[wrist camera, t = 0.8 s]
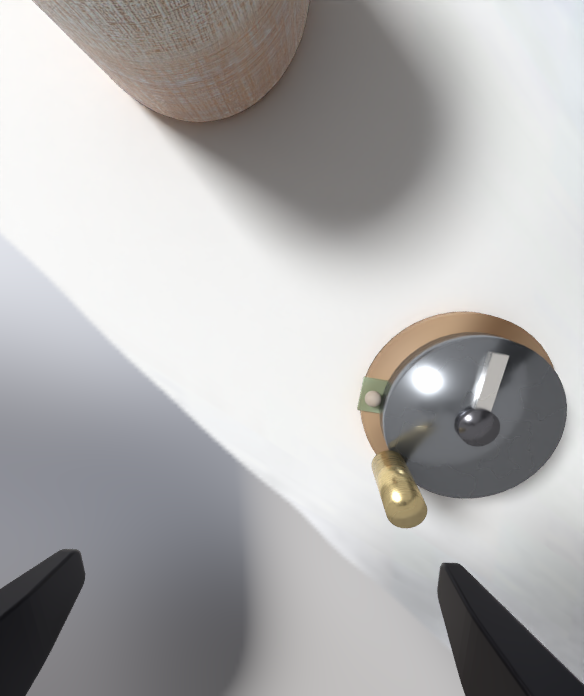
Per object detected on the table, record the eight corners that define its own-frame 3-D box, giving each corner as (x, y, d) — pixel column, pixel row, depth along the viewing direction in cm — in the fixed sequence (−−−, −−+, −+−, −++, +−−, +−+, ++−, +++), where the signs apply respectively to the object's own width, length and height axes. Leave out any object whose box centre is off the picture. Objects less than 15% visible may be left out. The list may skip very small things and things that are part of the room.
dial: (572, 346, 17) (671, 377, 13) (516, 493, 20) (583, 566, 15) (397, 319, 17) (430, 339, 13) (362, 468, 20) (380, 533, 15)
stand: (575, 327, 18) (605, 334, 17) (513, 493, 21) (533, 515, 19) (377, 297, 18) (385, 301, 17) (342, 466, 21) (345, 485, 19)
